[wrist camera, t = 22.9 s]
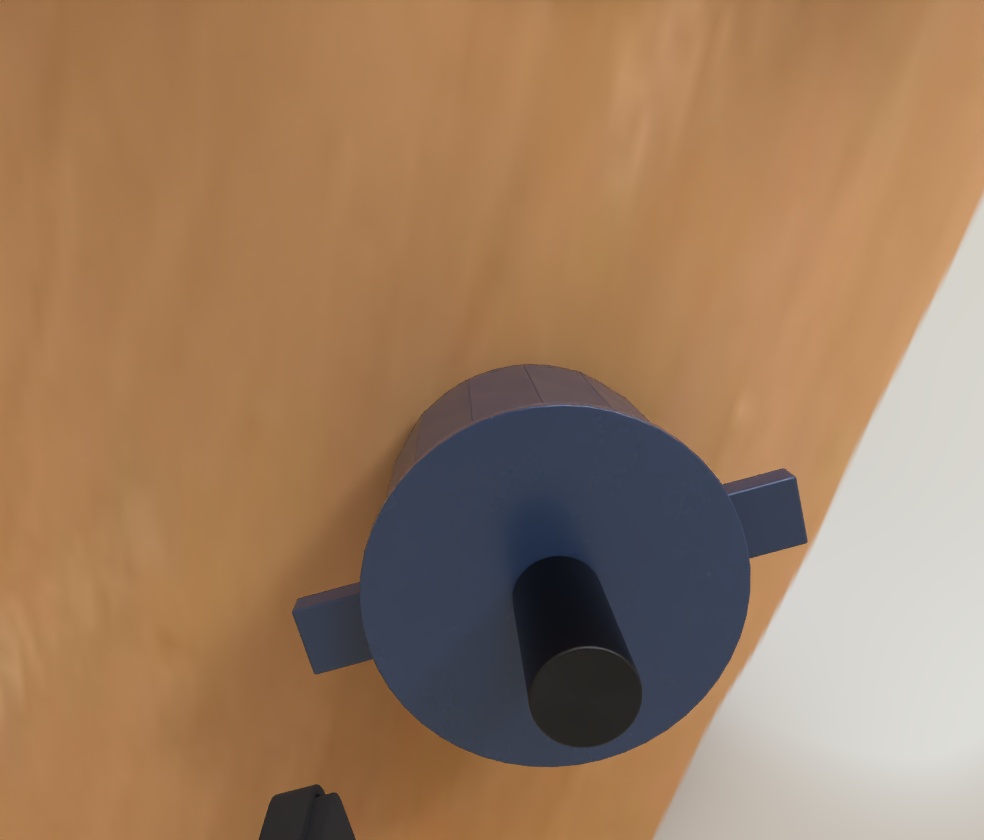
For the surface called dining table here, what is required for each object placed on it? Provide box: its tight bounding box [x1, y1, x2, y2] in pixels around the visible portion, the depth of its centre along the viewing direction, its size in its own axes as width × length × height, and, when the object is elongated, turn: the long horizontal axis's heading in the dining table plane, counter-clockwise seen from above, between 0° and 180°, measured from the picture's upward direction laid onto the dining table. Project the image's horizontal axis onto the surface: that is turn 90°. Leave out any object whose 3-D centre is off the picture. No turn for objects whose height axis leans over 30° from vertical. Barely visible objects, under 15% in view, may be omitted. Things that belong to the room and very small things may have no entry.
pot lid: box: [359, 401, 750, 767], centre depth 22 cm, size 12×12×7 cm
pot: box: [292, 364, 807, 674], centre depth 29 cm, size 11×17×8 cm
